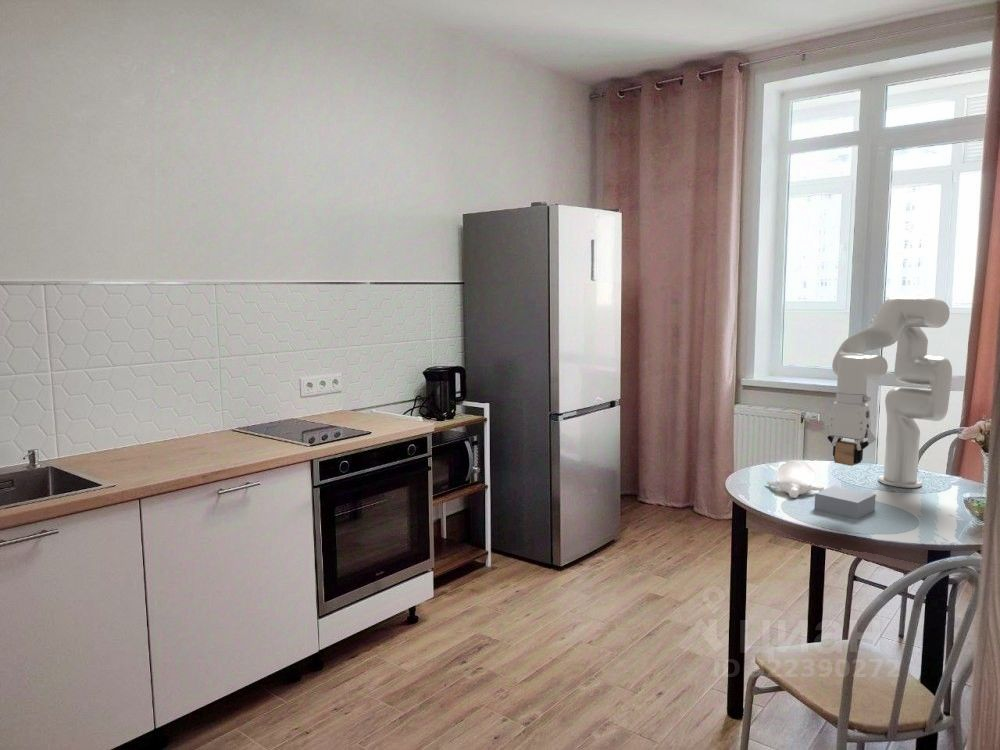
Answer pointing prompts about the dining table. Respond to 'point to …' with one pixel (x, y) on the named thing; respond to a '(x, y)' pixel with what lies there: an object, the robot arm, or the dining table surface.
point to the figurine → (795, 478)
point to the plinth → (845, 502)
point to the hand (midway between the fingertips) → (847, 460)
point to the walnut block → (845, 452)
